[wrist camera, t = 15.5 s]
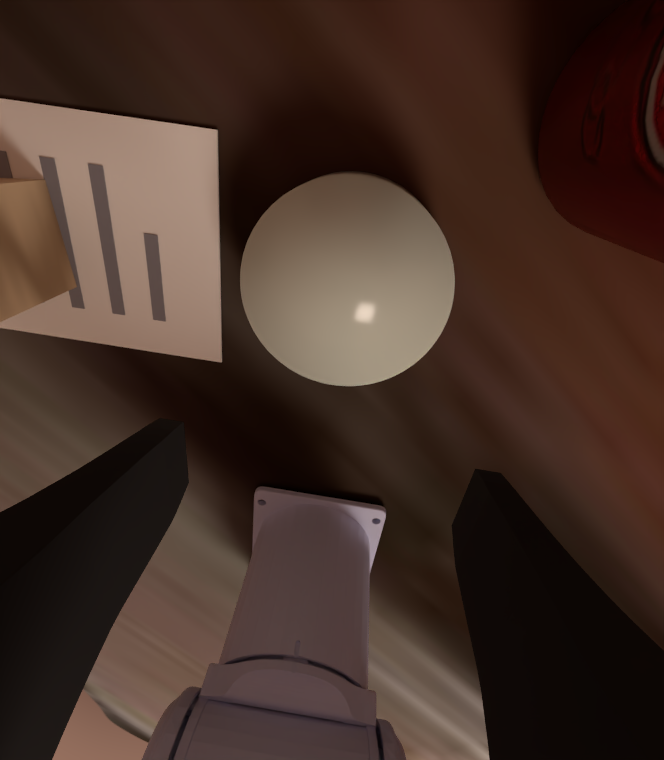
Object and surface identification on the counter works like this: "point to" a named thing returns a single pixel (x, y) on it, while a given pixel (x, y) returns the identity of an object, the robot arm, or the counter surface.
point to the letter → (125, 226)
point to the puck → (347, 279)
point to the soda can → (611, 132)
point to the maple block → (30, 248)
